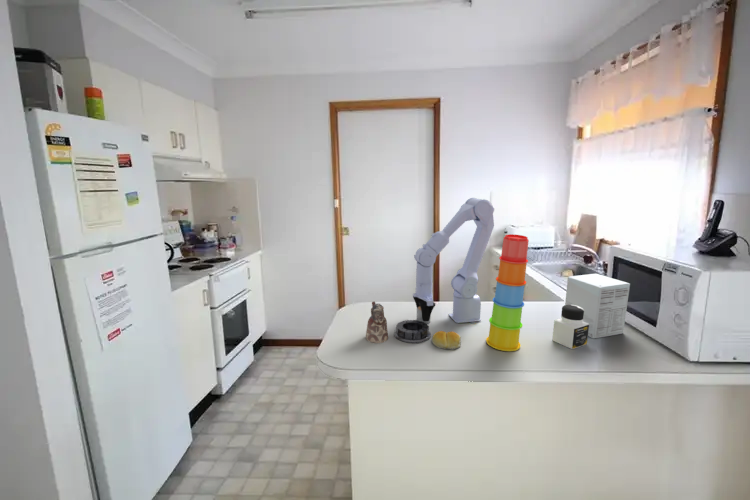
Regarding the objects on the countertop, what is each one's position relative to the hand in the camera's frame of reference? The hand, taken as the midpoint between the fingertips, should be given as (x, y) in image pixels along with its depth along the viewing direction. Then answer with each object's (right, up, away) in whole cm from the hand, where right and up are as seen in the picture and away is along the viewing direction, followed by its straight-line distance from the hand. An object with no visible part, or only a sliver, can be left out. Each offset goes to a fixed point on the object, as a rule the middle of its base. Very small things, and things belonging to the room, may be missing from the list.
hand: (423, 317), depth 134 cm
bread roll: (+5, -5, -17) cm, 18 cm away
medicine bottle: (+44, -5, -17) cm, 47 cm away
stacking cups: (+23, -5, -18) cm, 29 cm away
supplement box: (+57, -3, -6) cm, 58 cm away
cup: (0, -1, 0) cm, 1 cm away
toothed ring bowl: (-5, -4, -11) cm, 12 cm away
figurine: (-17, -5, -13) cm, 22 cm away
